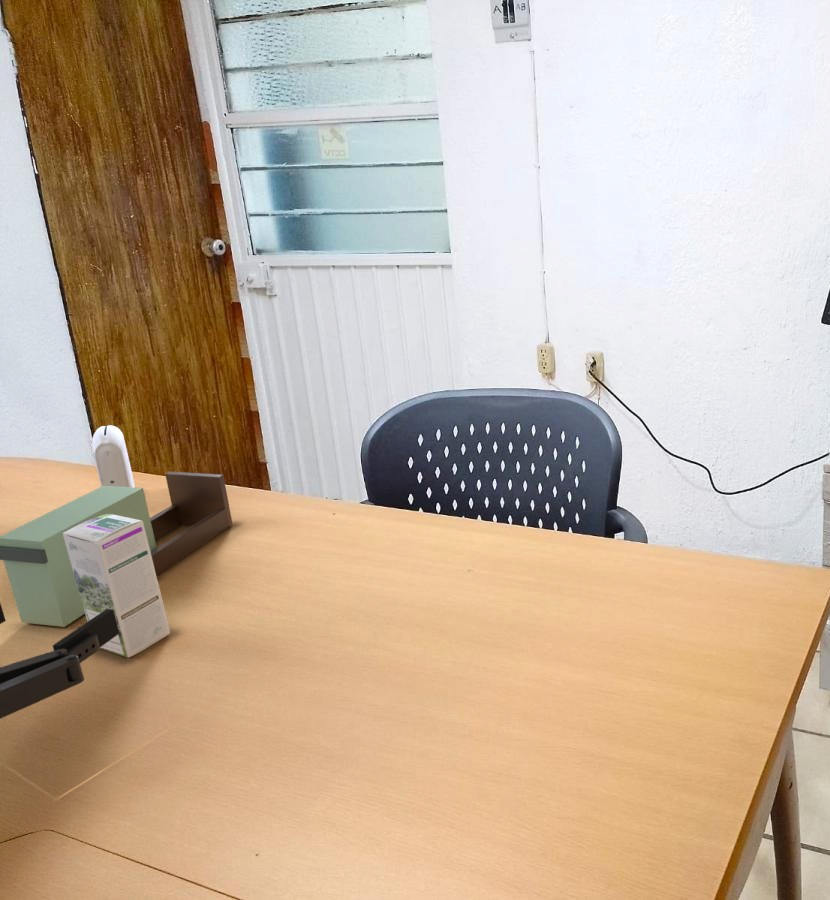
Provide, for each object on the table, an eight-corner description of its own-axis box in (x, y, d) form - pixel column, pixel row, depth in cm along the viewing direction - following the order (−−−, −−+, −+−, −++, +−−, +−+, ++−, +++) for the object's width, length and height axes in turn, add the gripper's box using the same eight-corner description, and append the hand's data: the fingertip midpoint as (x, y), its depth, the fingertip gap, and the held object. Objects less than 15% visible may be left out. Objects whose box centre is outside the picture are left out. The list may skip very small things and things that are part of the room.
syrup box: (173, 633, 95) (146, 517, 90) (126, 660, 90) (96, 540, 85) (138, 623, 97) (110, 510, 92) (91, 649, 92) (59, 531, 87)
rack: (93, 573, 109) (78, 518, 107) (180, 520, 125) (169, 471, 122) (152, 579, 107) (139, 523, 105) (232, 524, 123) (223, 474, 120)
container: (17, 624, 97) (-8, 539, 93) (121, 560, 112) (103, 485, 108) (62, 629, 96) (38, 543, 92) (161, 563, 111) (143, 487, 107)
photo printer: (137, 510, 129) (120, 435, 125) (105, 516, 127) (87, 439, 123) (137, 488, 138) (121, 417, 134) (108, 493, 136) (90, 422, 132)
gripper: (-276, 776, 67) (-36, 635, 87) (-24, 819, 62) (170, 659, 82) (-312, 698, 65) (-57, 571, 84) (-53, 737, 60) (155, 592, 79)
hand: (55, 614), depth 83 cm, fingers open, 13 cm apart
